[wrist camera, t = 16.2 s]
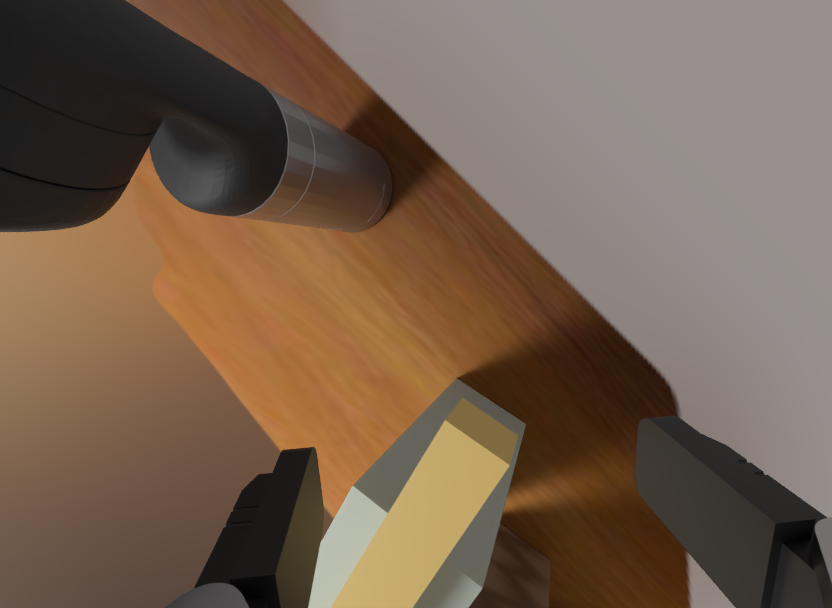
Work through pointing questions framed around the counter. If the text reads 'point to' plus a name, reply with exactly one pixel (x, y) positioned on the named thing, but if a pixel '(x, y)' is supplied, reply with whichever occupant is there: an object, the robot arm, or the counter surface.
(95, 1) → the robot arm
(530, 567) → the walnut pillar
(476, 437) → the ochre bar
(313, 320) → the counter surface
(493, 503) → the grey-green block
